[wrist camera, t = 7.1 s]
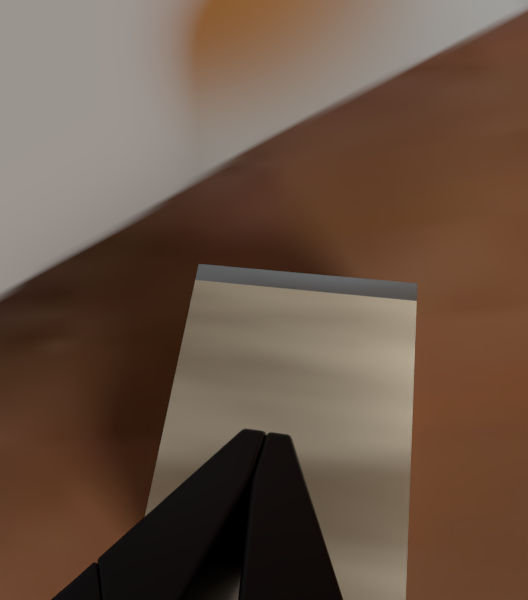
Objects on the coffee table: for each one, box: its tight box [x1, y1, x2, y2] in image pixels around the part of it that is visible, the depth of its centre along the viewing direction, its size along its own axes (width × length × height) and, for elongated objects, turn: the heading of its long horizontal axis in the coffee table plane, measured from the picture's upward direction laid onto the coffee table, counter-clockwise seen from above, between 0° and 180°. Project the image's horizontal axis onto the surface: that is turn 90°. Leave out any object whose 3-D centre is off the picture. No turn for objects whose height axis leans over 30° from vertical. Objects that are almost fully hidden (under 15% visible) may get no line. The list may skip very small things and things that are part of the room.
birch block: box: [145, 264, 417, 600], centre depth 13 cm, size 4×6×9 cm
